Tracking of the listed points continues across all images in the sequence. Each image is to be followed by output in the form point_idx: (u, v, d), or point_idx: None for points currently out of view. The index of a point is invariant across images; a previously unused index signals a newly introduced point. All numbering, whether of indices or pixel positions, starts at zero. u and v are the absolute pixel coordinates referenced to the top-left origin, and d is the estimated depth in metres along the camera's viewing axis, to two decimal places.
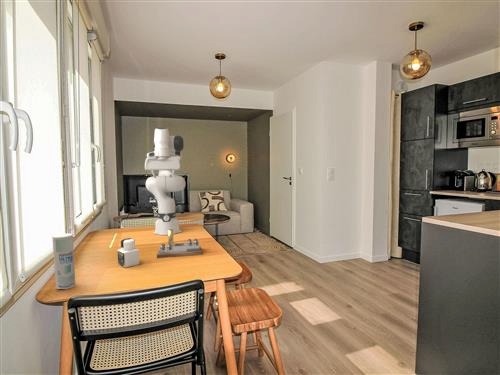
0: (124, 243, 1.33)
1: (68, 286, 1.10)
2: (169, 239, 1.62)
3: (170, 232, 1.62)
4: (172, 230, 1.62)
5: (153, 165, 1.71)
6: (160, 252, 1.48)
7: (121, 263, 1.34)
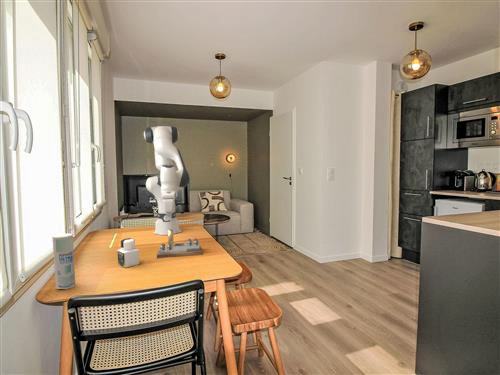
0: (124, 243, 1.33)
1: (68, 286, 1.10)
2: (169, 239, 1.62)
3: (170, 232, 1.62)
4: (172, 230, 1.62)
5: None
6: (160, 252, 1.48)
7: (121, 263, 1.34)
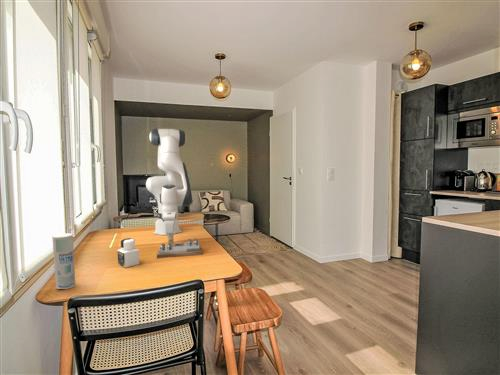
0: (124, 243, 1.33)
1: (68, 286, 1.10)
2: None
3: None
4: None
5: None
6: (160, 252, 1.48)
7: (121, 263, 1.34)
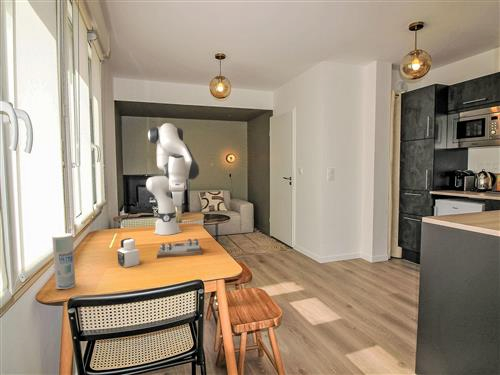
0: (124, 243, 1.33)
1: (68, 286, 1.10)
2: None
3: None
4: None
5: None
6: (160, 252, 1.48)
7: (121, 263, 1.34)
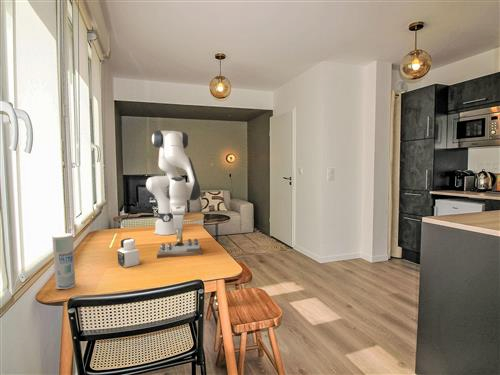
0: (124, 243, 1.33)
1: (68, 286, 1.10)
2: None
3: None
4: None
5: None
6: (160, 252, 1.48)
7: (121, 263, 1.34)
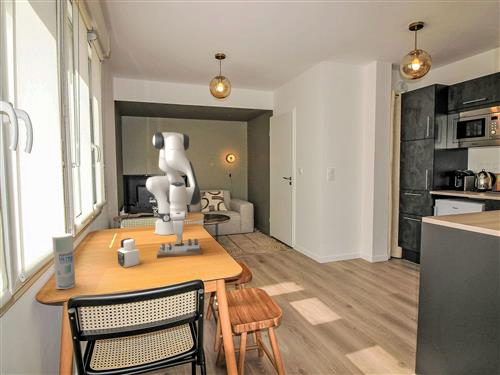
0: (124, 243, 1.33)
1: (68, 286, 1.10)
2: None
3: None
4: None
5: None
6: (160, 252, 1.48)
7: (121, 263, 1.34)
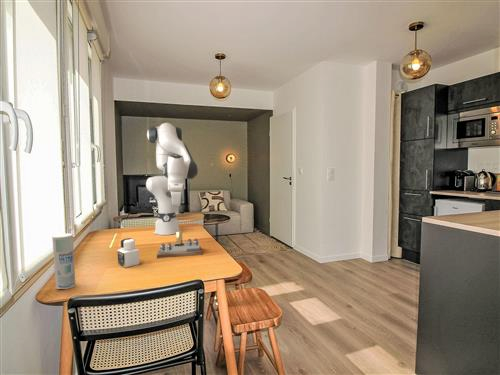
0: (124, 243, 1.33)
1: (68, 286, 1.10)
2: (178, 241, 1.51)
3: (179, 234, 1.51)
4: (181, 232, 1.52)
5: None
6: (160, 252, 1.48)
7: (121, 263, 1.34)
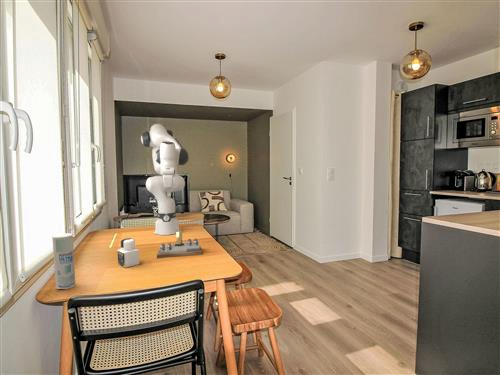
0: (124, 243, 1.33)
1: (68, 286, 1.10)
2: (178, 241, 1.51)
3: (179, 234, 1.51)
4: (181, 232, 1.52)
5: None
6: (160, 252, 1.48)
7: (121, 263, 1.34)
